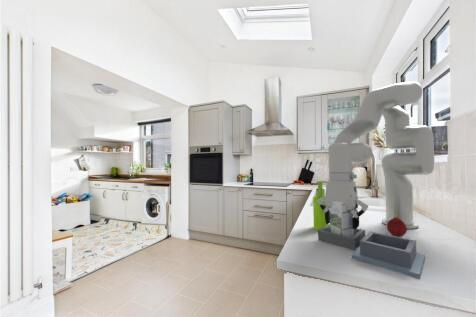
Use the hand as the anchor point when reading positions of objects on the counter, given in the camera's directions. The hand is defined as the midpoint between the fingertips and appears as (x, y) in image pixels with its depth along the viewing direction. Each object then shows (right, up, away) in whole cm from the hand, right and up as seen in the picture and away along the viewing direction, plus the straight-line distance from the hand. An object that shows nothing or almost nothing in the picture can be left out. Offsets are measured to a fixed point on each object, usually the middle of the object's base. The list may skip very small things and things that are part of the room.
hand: (341, 225), depth 74 cm
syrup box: (0, -5, 0) cm, 5 cm away
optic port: (+7, -5, -14) cm, 16 cm away
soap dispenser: (-1, -6, +13) cm, 14 cm away
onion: (+21, -5, +1) cm, 22 cm away
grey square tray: (0, -5, 0) cm, 5 cm away
